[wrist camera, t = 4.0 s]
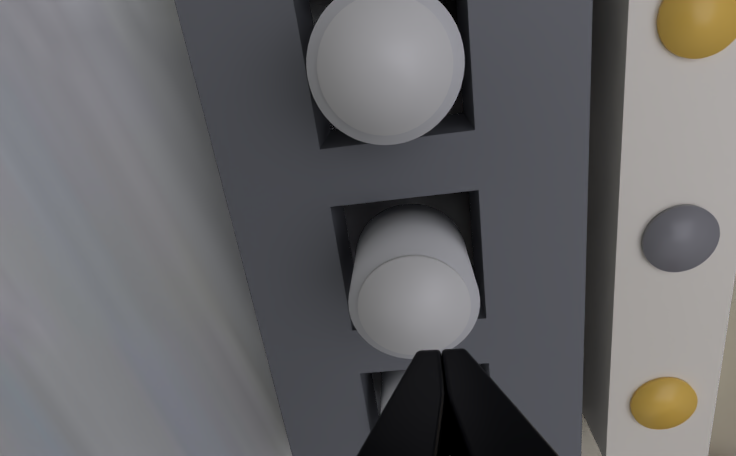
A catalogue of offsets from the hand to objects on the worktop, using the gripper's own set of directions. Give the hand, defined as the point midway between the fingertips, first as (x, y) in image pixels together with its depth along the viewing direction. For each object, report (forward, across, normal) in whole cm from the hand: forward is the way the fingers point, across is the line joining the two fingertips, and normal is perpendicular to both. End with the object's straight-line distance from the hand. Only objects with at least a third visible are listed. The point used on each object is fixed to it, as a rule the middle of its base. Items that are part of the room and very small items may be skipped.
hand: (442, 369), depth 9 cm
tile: (+12, -8, +2) cm, 15 cm away
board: (+12, +1, +3) cm, 12 cm away
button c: (+10, +1, -4) cm, 11 cm away
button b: (+9, +1, +3) cm, 10 cm away
